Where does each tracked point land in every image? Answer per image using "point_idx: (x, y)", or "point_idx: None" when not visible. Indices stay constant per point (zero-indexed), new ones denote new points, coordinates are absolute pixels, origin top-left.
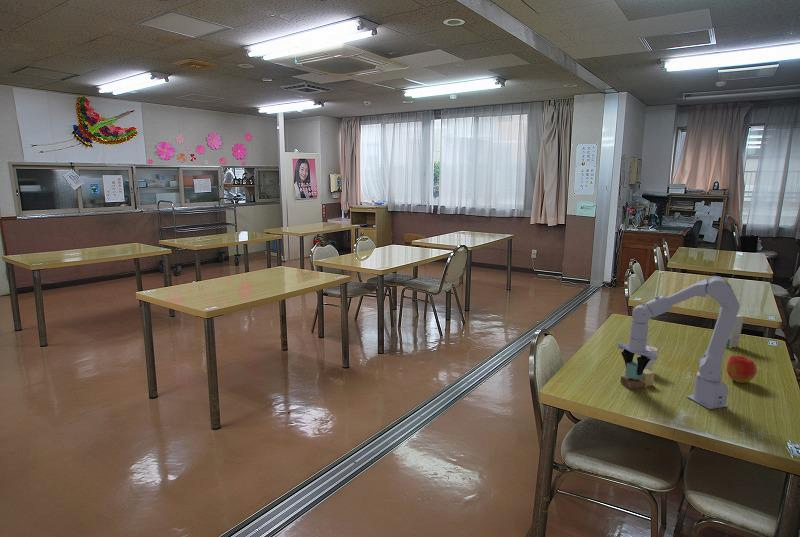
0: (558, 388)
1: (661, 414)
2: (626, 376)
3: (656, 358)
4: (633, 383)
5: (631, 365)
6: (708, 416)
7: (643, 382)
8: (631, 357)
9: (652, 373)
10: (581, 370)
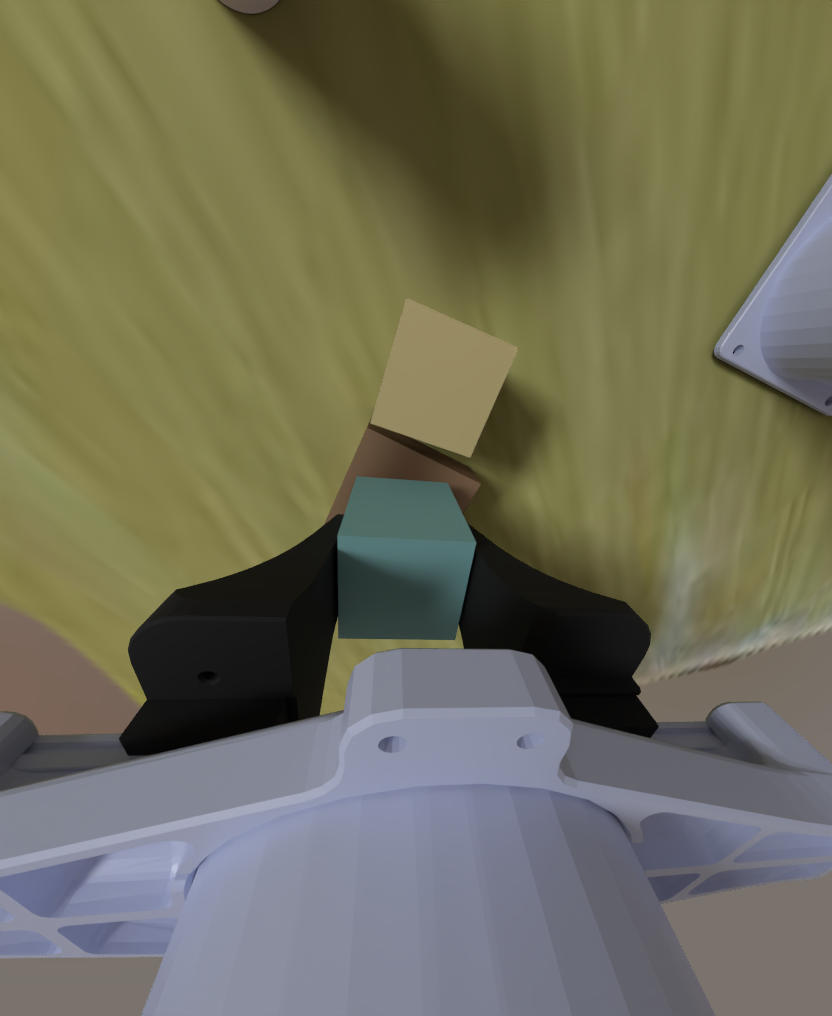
0: None
1: None
2: (343, 508)
3: (792, 741)
4: None
5: (396, 633)
6: (799, 501)
7: (470, 497)
8: (321, 616)
9: (505, 376)
10: (70, 553)
